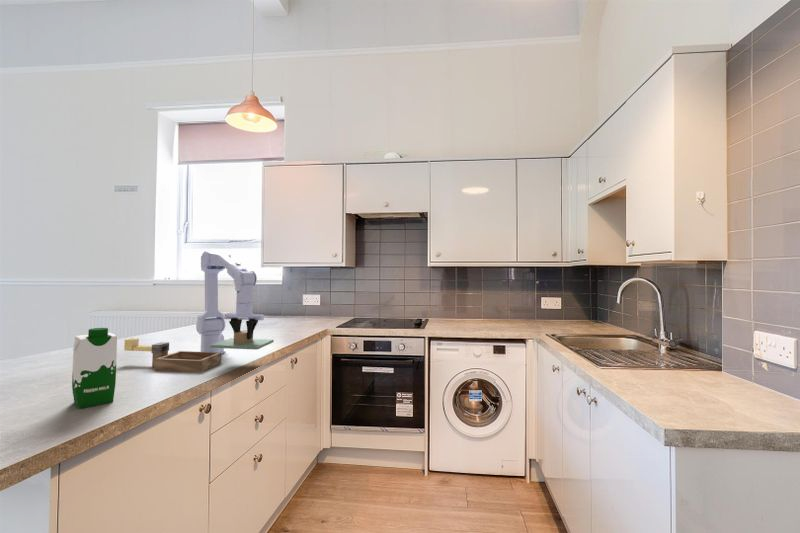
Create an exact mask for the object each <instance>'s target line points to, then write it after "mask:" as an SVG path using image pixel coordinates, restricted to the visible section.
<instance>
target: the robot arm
mask: <svg viewBox="0 0 800 533" xmlns="http://www.w3.org/2000/svg"><path fill="white" fill-rule="evenodd" d="M200 268H201V272H203V273H204V311H203V312H202V313H200V314H199V315H197V322H196V328H195V329H196V332H197V333H198V334H199V335H200V352H219V353H221V355H222V354H225V353H226V352H227V351H226V350H225V348H210V347H211V345H212V344H215V343H218V342H221V341H224V340H225V337H224V334H223V331H225V328H226V320H229V325H230V326H231V328H232V331H233V334H234V333H236V332H239V331H241V327H242V322H243V320H244V321H245V320H246V321H245V324H246V330H247V339H251V338H252V334H253V335H254V330H255V329H256V327H257V325H258V322H259V321H264V320H265V317H264V316H265V314H257V313H253V306H254V304H253V303H254V302H253V301H254V286H255V285H256V284H257V280H258V279H257V278H258V276H257V274H256V273H255V271H254V270H250V271H249V270H247V269H246V267H244V266H242V264H241V262H237V261H236V262H234V261H233V259H232V258H231V254H230V253H229V252H228V251H221V252H220V251H208V250H204V251H203V253H202V254H201V256H200ZM225 269H226V271H227V272H226V273H227V274H228V275H229V276H230V277H231V278H232V279H233V284H234V287H235V288H234V289H235V292H236V298H235V299H236V300H235V301H236V302H235V313H223V312H221V311H219V294H218V293H219V290H218V288H219V287H218V286H219V283H218V274H219V273H221V272H223V271H224V270H225Z"/></svg>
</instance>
